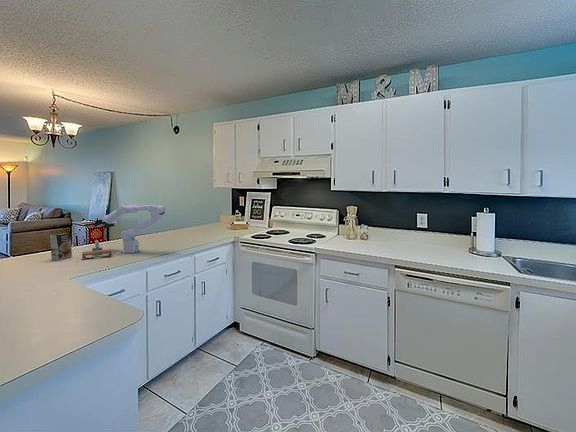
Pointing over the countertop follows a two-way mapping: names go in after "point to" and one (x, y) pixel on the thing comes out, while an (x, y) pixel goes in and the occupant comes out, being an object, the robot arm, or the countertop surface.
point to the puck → (97, 257)
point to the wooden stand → (96, 253)
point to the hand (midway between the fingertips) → (98, 226)
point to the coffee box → (61, 246)
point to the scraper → (96, 248)
